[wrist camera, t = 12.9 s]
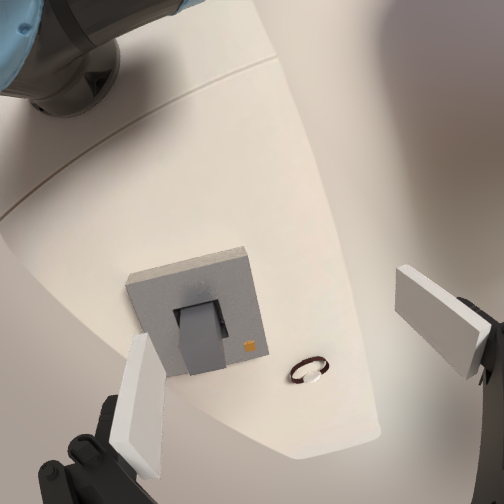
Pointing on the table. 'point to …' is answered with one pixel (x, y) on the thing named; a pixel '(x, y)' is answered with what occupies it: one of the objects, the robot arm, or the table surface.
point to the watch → (312, 375)
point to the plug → (201, 338)
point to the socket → (194, 292)
